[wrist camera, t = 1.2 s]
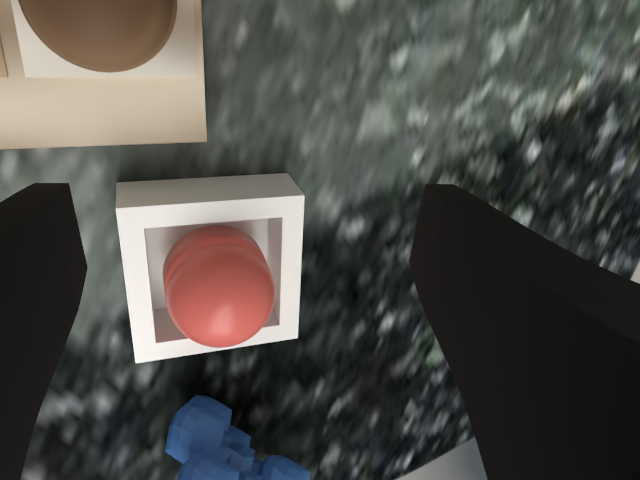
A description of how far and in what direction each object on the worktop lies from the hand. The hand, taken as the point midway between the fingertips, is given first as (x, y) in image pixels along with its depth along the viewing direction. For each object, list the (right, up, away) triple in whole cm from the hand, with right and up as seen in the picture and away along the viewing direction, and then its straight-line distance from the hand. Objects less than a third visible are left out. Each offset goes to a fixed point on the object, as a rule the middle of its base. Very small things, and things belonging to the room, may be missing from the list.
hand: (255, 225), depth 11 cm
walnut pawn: (-7, +9, +8) cm, 14 cm away
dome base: (-4, -1, +16) cm, 16 cm away
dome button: (-4, -2, +14) cm, 15 cm away
